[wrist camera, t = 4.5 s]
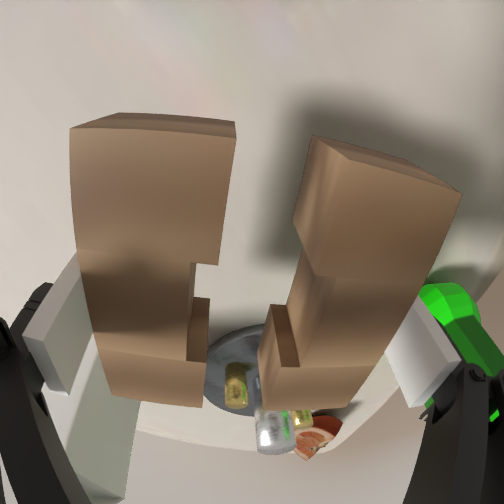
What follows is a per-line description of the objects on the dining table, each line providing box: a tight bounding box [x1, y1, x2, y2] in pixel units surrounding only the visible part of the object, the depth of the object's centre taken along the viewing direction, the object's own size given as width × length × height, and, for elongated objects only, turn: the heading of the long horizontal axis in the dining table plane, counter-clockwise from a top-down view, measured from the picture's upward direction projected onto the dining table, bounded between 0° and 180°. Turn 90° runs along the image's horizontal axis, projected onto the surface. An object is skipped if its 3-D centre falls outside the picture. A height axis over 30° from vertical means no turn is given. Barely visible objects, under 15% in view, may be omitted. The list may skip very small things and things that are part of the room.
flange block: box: [70, 113, 462, 411], centre depth 12 cm, size 12×12×4 cm
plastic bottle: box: [418, 282, 504, 422], centre depth 16 cm, size 10×10×25 cm
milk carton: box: [41, 334, 141, 504], centre depth 19 cm, size 7×7×19 cm
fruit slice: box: [294, 415, 343, 461], centre depth 34 cm, size 8×7×5 cm
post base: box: [203, 324, 314, 455], centre depth 26 cm, size 14×14×9 cm
